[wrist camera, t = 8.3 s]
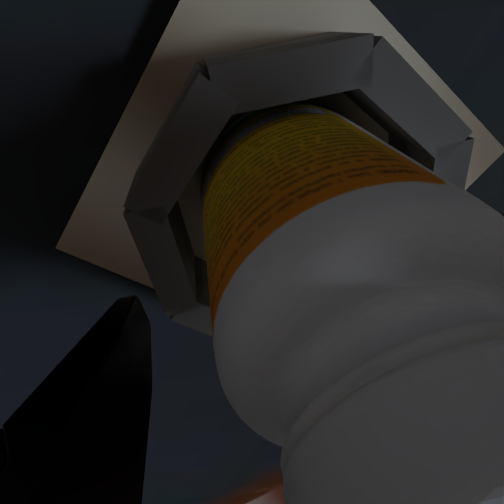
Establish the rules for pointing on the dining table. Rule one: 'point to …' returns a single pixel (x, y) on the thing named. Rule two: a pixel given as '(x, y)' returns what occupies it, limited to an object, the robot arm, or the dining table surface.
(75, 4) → the dining table surface
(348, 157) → the supplement bottle
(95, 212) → the collar
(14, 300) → the dining table surface
